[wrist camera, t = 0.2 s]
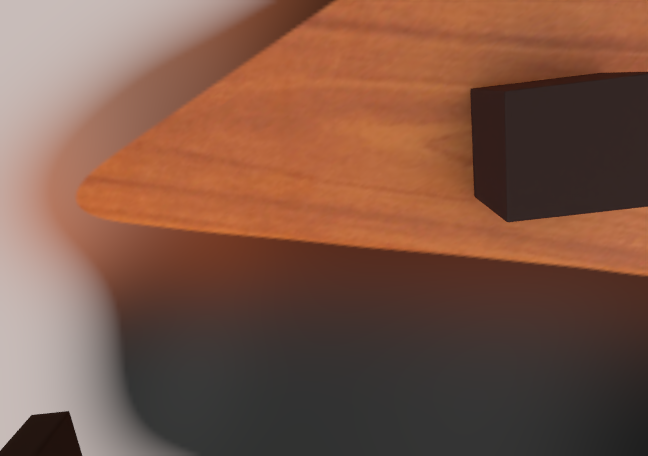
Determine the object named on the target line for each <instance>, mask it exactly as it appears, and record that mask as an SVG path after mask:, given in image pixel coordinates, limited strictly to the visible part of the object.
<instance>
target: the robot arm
mask: <svg viewBox="0 0 648 456" xmlns="http://www.w3.org/2000/svg"><path fill="white" fill-rule="evenodd" d="M0 456H82V453H81V450H80V447H79V443H78V440H77V436H76V433H75V430H74V426H73V423H72V420H71V416H70V413H69V411H66V412H57V413H47V414H37V415H31V416H30V418H29V419H28V420H27V421H26V422H25V423H24V424H23V425H22V427H21V428H20V429H19V430H18V431H17V432H16V434H15V435H14V436H13V437H12V438H11V439H10V440H9V441H8V443H7V444H6V445H5V446H4V447H3V448H2V450H1V451H0Z"/></svg>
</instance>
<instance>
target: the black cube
mask: <svg viewBox="0 0 648 456" xmlns="http://www.w3.org/2000/svg"><path fill="white" fill-rule="evenodd" d="M471 116H472V142H473V169H474V195H475V197H476V198H477V199H478V200H480V201H481V202H482V203H483V204H485V205H486V206H487V207H489V208H490V209H491V210H492V211H494V212H495V213H496V214H498V215H499V216H500V217H501V218H503V219H504V220H505V221H507V222H514V221H523V220H532V219H541V218H550V217H559V216H568V215H576V214H585V213H594V212H603V211H612V210H621V209H630V208H638V207H647V206H648V72H621V73H597V74H588V75H580V76H572V77H564V78H556V79H547V80H539V81H531V82H523V83H515V84H506V85H498V86H490V87H482V88H474V89H471Z"/></svg>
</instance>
